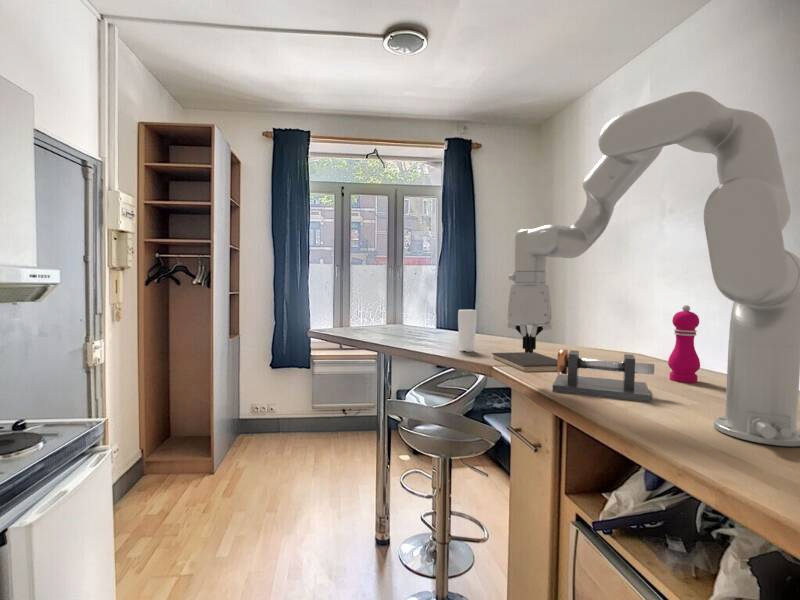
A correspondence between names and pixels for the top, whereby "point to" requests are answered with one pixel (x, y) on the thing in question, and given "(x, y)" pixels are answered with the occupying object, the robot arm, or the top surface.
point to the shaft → (600, 364)
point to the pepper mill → (684, 347)
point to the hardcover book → (527, 361)
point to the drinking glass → (467, 329)
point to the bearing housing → (602, 382)
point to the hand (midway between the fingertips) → (529, 352)
